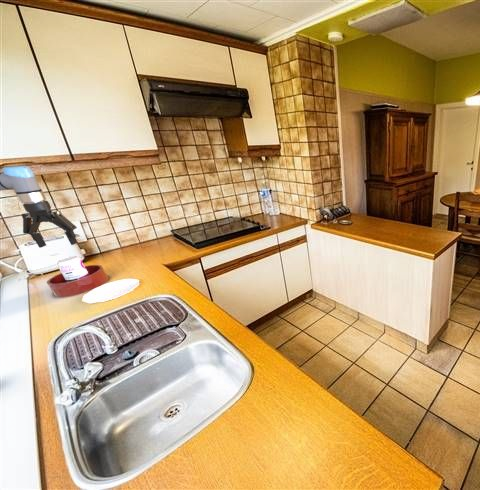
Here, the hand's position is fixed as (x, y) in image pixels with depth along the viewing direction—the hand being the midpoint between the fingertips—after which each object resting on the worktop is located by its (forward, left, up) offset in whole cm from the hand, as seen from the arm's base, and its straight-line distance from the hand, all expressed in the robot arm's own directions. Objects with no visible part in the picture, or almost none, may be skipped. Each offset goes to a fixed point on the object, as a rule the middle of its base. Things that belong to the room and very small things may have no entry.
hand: (59, 245), depth 127 cm
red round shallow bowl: (0, 0, -23) cm, 23 cm away
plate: (+22, -11, -23) cm, 34 cm away
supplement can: (0, 0, -23) cm, 23 cm away
